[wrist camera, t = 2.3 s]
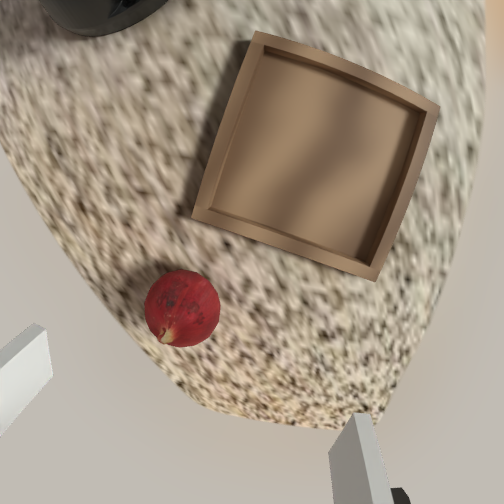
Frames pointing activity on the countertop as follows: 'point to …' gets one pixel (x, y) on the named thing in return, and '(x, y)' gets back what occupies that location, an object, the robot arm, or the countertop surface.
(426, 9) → the countertop surface
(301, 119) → the tray
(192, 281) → the red fruit
